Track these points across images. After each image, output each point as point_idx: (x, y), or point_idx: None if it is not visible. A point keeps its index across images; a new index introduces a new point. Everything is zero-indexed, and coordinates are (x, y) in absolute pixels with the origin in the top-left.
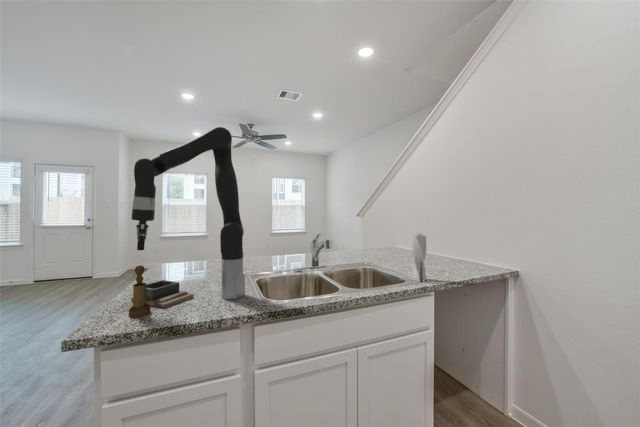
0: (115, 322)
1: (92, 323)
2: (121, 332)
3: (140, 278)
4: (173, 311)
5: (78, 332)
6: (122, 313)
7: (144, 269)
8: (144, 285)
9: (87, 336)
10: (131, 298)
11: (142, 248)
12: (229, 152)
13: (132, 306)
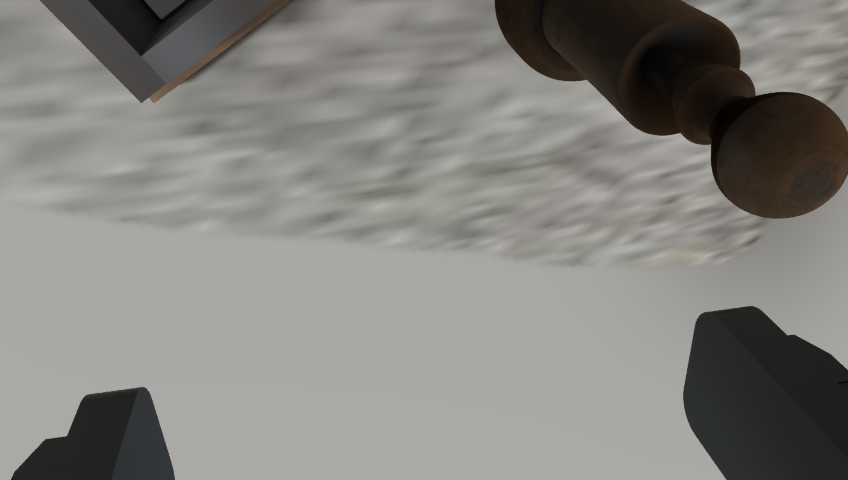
0: (631, 128)
1: (554, 241)
2: (833, 71)
3: (753, 96)
4: None
5: (651, 268)
6: (470, 113)
7: (804, 95)
8: (722, 25)
9: (744, 219)
10: (159, 98)
11: (805, 348)
12: None
13: (559, 65)
